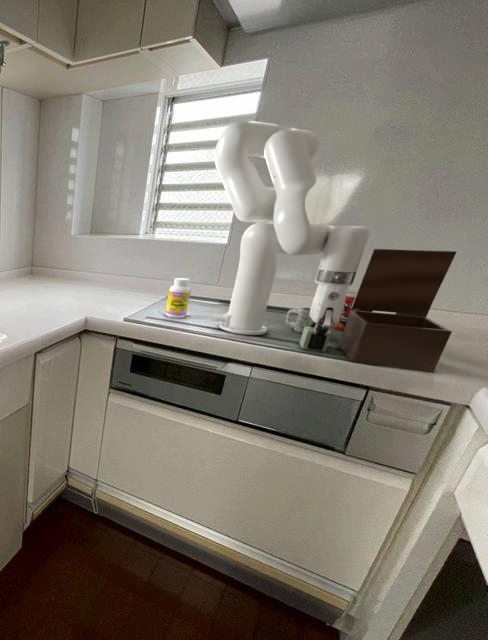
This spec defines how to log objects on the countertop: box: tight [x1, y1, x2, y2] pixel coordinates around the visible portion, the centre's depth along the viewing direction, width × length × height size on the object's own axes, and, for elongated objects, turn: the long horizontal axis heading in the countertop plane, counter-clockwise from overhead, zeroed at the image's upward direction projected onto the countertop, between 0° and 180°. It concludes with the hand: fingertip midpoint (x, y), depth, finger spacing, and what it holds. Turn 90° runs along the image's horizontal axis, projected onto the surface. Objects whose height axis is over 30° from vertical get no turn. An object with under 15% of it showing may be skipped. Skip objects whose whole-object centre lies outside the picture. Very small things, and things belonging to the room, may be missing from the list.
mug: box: [285, 307, 321, 334], centre depth 123 cm, size 10×7×7 cm
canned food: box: [332, 290, 374, 332], centre depth 123 cm, size 8×8×11 cm
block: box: [298, 326, 333, 353], centre depth 108 cm, size 5×5×5 cm
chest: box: [338, 310, 453, 373], centre depth 99 cm, size 15×15×10 cm
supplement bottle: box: [165, 277, 192, 319], centre depth 138 cm, size 7×7×13 cm
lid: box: [351, 248, 457, 316], centre depth 101 cm, size 15×15×5 cm
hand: (312, 345), depth 108 cm, fingers closed on block, 5 cm apart
